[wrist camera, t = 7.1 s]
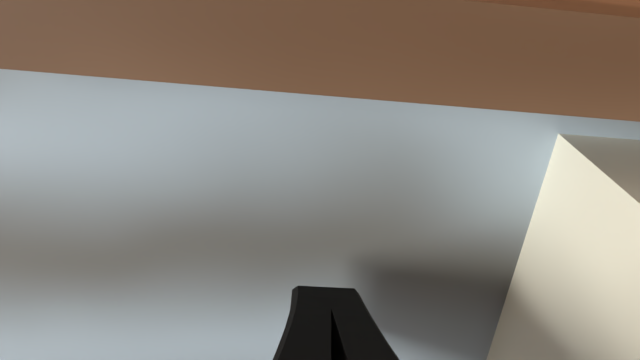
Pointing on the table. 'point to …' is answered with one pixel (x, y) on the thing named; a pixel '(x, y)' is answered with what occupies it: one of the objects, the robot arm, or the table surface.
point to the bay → (284, 164)
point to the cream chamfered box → (578, 259)
